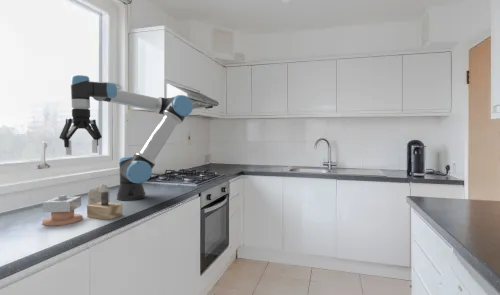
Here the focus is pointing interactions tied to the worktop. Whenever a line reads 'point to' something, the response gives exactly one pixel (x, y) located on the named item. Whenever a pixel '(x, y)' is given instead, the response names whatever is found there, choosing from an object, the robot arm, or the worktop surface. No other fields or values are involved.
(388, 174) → the worktop surface
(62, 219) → the hub
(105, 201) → the stand
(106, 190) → the stone
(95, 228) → the worktop surface
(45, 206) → the grey square stone block
